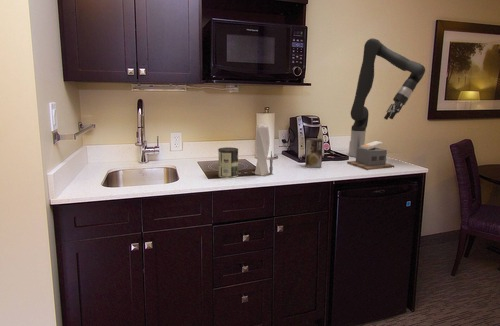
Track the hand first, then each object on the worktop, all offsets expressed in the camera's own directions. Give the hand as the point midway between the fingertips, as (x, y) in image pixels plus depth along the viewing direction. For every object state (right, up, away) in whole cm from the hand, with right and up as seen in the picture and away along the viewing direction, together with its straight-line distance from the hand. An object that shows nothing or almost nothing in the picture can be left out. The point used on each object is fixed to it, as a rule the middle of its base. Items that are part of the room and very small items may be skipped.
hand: (387, 118), depth 221 cm
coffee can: (-95, -33, -31) cm, 105 cm away
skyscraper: (-77, -33, -27) cm, 88 cm away
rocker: (-11, -16, -5) cm, 20 cm away
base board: (-12, -28, -2) cm, 30 cm away
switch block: (-11, -27, -3) cm, 29 cm away
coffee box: (-46, -29, -7) cm, 55 cm away
